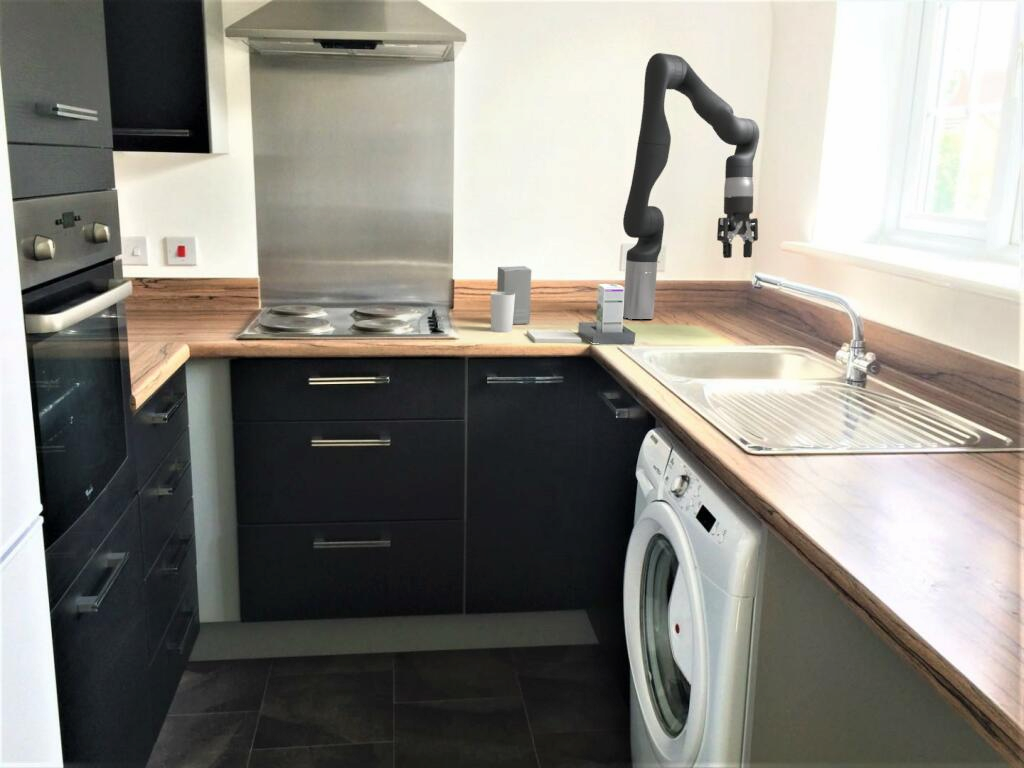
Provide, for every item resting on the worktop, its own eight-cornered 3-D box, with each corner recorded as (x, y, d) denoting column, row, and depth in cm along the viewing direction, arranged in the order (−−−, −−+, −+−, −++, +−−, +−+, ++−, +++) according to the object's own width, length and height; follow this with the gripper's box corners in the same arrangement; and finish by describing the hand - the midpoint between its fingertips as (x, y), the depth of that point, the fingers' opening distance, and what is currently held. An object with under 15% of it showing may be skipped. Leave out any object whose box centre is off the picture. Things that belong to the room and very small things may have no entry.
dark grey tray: (578, 333, 253) (579, 318, 252) (617, 333, 254) (618, 318, 254) (592, 344, 237) (593, 328, 236) (634, 344, 239) (635, 329, 238)
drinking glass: (498, 327, 257) (500, 291, 254) (518, 330, 253) (520, 293, 251) (484, 330, 251) (485, 293, 249) (504, 333, 248) (505, 295, 245)
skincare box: (522, 320, 269) (525, 265, 265) (530, 324, 262) (533, 268, 259) (494, 321, 266) (496, 265, 263) (502, 325, 260) (504, 268, 256)
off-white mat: (526, 333, 248) (526, 330, 248) (570, 334, 250) (571, 330, 250) (535, 342, 237) (535, 338, 237) (581, 342, 239) (581, 339, 239)
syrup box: (622, 342, 241) (626, 286, 238) (600, 342, 240) (603, 286, 237) (615, 338, 247) (619, 283, 243) (594, 338, 246) (597, 283, 242)
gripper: (743, 197, 254) (742, 257, 257) (710, 195, 246) (709, 258, 248) (766, 195, 249) (765, 257, 251) (733, 193, 240) (732, 257, 242)
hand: (737, 257), depth 249 cm, fingers open, 8 cm apart
